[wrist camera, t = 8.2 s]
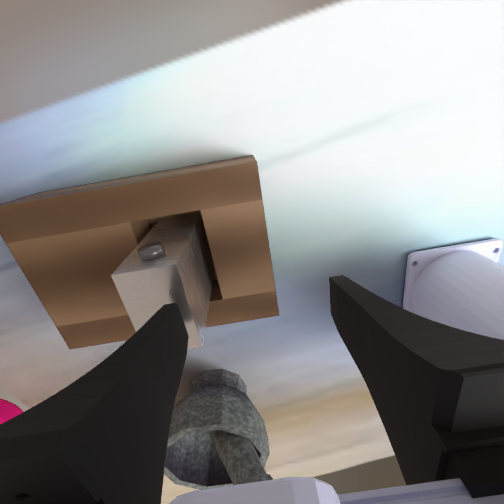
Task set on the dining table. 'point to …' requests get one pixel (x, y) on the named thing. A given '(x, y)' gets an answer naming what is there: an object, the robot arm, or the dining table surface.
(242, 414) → the mortar and pestle
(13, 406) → the pepper mill
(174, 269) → the grey block with knob
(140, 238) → the slotted wooden frame
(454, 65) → the dining table surface
